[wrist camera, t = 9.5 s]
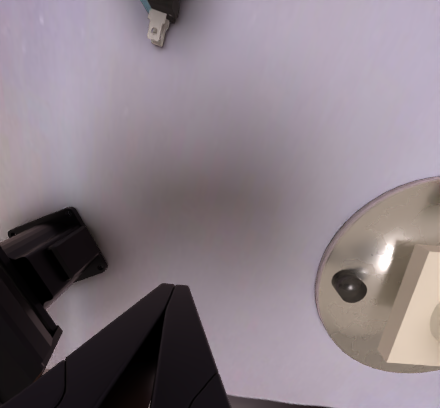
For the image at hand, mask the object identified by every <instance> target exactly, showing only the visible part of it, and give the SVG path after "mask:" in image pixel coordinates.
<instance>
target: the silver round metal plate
mask: <svg viewBox="0 0 440 408" xmlns="http://www.w3.org/2000/svg"><path fill="white" fill-rule="evenodd" d="M415 244H424V245H435V246H440V177H431V178H426V179H421V180H417V181H413V182H410V183H407V184H404V185H401V186H399V187H397V188H394V189H392V190H390V191H388V192H386V193H384V194H382V195H380V196H379V197H377V198H375V199H374V200H372V201H371V202H369V203H368V204H366V205H365V206H364V207H362V208H361V209H360V210H359V211H357V212H356V213H355V214H354V215H353V216H352V217H351V218H350V219H349V220H348V221H347V222H346V223H345V224H344V225H343V226H342V227H341V228H340V230H339V231H338V232H337V233H336V235H335V236H334V237H333V239H332V241H331V242H330V244H329V245H328V247H327V249H326V251H325V253H324V255H323V257H322V259H321V262H320V265H319V269H318V272H317V277H316V283H315V298H316V305H317V310H318V313H319V316H320V319H321V320H322V322H323V324H324V326H325V328H326V330H327V332H328V334H329V336H330V337H331V338H332V340H333V341H334V343H335V344H336V345H337V346H338V347H339V348H340V349H341V350H342V351H343V352H344V353H346V354H347V355H348V356H350V357H351V358H353V359H354V360H356V361H358V362H360V363H362V364H364V365H367V366H369V367H372V368H375V369H379V370H383V371H388V372H395V373H422V372H429V371H436V370H440V366H429V365H415V364H401V363H388V362H386V361H385V359H384V358H383V357H382V355H381V354H380V353H379V351H378V350H377V349H378V346H379V343H380V340H381V338H382V335H383V332H384V329H385V327H386V324H387V321H388V318H389V316H390V313H391V310H392V307H393V305H394V302H395V299H396V296H397V293H398V291H399V288H400V285H401V282H402V280H403V277H404V274H405V271H406V269H407V266H408V263H409V260H410V258H411V255H412V252H413V249H414V247H415Z"/></svg>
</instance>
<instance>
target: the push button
mask: <svg viewBox="0 0 440 408" xmlns="http://www.w3.org/2000/svg"><path fill="white" fill-rule="evenodd" d="M140 1H141V2H142V3H143V5H144V7H145V8H146V10H147V12H148V13H149V16H148V19H150V23H149V29H148V34H147V37H148V39H151V42H152V44H155V45H158V46H163V41H164V36H165V31H166V30H168V27H169V22H171V23H173V24H174V23H175V19H176V18H177V16H178V12H179V0H140ZM153 28H154V29H153ZM152 29H153V34H152ZM160 35H161V39H160ZM159 39H160V40H159Z"/></svg>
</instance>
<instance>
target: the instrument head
mask: <svg viewBox="0 0 440 408" xmlns="http://www.w3.org/2000/svg"><path fill="white" fill-rule="evenodd" d="M377 350H378V351H379V353H380V354H381V355H382V357H383V358H384V359H385V361H386V362H388V363H401V364H415V365H429V366H440V246H435V245H424V244H415V247H414V249H413V252H412V255H411V258H410V260H409V263H408V266H407V269H406V271H405V274H404V277H403V280H402V282H401V285H400V288H399V291H398V293H397V296H396V299H395V302H394V305H393V307H392V310H391V313H390V316H389V318H388V321H387V324H386V327H385V329H384V332H383V335H382V338H381V340H380V343H379V346H378V349H377Z"/></svg>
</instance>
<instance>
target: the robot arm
mask: <svg viewBox="0 0 440 408" xmlns="http://www.w3.org/2000/svg"><path fill="white" fill-rule="evenodd" d="M68 211H69V212H71V215H70V214H69V213H68ZM15 234H16V235H15ZM8 236H9V239H7V240H5V241H3V242H1V243H0V408H148V407H149V404H150V408H232V407H231V404H230V402H229V399H228V396H227V394H226V391H225V389H224V386H223V383H222V380H221V377H220V375H219V374H218V369H217V366H216V363H215V361H214V358H213V355H212V352H211V349H210V346H209V343H208V340H207V338H206V335H205V332H204V329H203V326H202V323H201V320H200V317H199V315H198V312H197V309H196V306H195V303H194V300H193V297H192V295H191V292H190V289H189V287H188V286H187V285H176V286H175V285H174V284H166V283H162V284H160V285H159V286H158V287H157V288H155V289H154V290H153V291H151V292H150V293H149V294H148V295H146V296H145V297H144V298H142V299H141V300H140V301H138V302H137V303H136V304H135V305H133V306H132V307H131V308H129V309H128V310H127V311H126V312H124V313H123V314H122V315H120V316H119V317H118V318H116V319H115V320H114V321H113V322H111V323H110V324H109V325H107V326H106V327H105V328H104V329H102V330H101V331H100V332H98V333H97V334H96V335H95V336H93V337H92V338H91V339H89V340H88V341H87V342H85V343H84V344H83V345H82V346H80V347H79V348H78V349H76V350H75V351H74V352H73V353H71V354H70V355H69V356H67V357H66V359H65V360H62V361H61V362H59V363H58V364H57V365H56V366H54V367H53V368H52V369H50V370H49V371H48V372H46V373H45V374H44V375H42V374H43V372H44V370H45V368H46V366H47V364H48V361H49V359H50V357H51V355H52V353H53V351H54V349H55V347H56V345H57V343H58V340H59V338H60V336H61V334H62V332H63V331H62V330H61V328H60V327H59V326H58V325H57V326H56V324H55V323H54V321H53V320H52V318H51V317H50V316H49V314H48V313H47V311H46V309H47V308H48V307H49V306H50V305H51V304H52V303H53V302H54V301H55V300H56V299H57V298H58V297H59V296H60V295H61V294H62V293H63V292H64V291H65V290H66V289H67V288H68V287H69V286H70V285H71V284H72V283H74V282H77V281H80V280H82V279H85V278H88V277H91V276H94V275H97V274H99V273H102V272H104V271H105V270H106V269H107V267H108V265H107V263H106V261H105V259H104V258H103V256H102V254H101V252H100V250H99V248H98V247H97V245H96V243H95V241H94V240H93V238H92V236H91V234H90V233H89V231H88V229H87V228H86V227H85V225H84V223H83V221H82V220H81V218H80V216H79V214H78V213H77V211H76V210H75V208H73V207H67V208H65V209H62V210H60V211H57V212H55V213H52V214H49V215H47V216H44V217H42V218H39V219H37V220H34V221H32V222H29V223H27V224H24V225H22V226H19V227H16V228H14V229H12V230H10V231H8ZM100 265H101V266H102V267H103V268H101V267H100ZM150 401H151V402H150Z"/></svg>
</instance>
